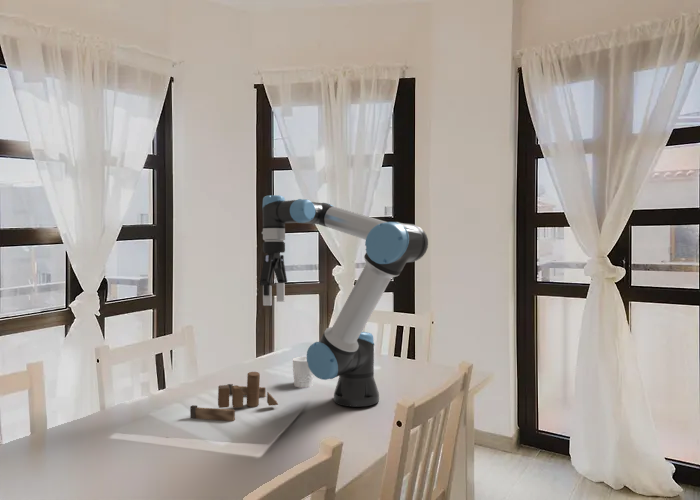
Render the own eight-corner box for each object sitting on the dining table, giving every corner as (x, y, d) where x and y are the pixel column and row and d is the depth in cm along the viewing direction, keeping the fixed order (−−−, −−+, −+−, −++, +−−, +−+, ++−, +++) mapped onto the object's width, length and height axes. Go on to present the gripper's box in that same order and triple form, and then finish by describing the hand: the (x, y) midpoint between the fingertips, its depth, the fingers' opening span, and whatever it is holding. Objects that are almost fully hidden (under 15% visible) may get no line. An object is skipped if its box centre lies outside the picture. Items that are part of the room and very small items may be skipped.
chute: (265, 396, 176) (265, 385, 176) (233, 421, 150) (233, 409, 150) (228, 394, 179) (228, 384, 179) (190, 418, 153) (190, 406, 153)
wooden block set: (219, 415, 156) (220, 382, 155) (216, 405, 164) (217, 373, 163) (278, 410, 162) (279, 378, 161) (272, 400, 170) (273, 370, 169)
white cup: (288, 388, 187) (288, 360, 187) (299, 382, 194) (298, 356, 194) (308, 390, 184) (308, 362, 184) (317, 384, 191) (317, 357, 191)
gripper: (275, 241, 189) (275, 299, 189) (249, 240, 165) (249, 307, 165) (295, 241, 188) (295, 300, 188) (271, 240, 163) (272, 307, 163)
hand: (274, 303), depth 176 cm, fingers open, 13 cm apart
